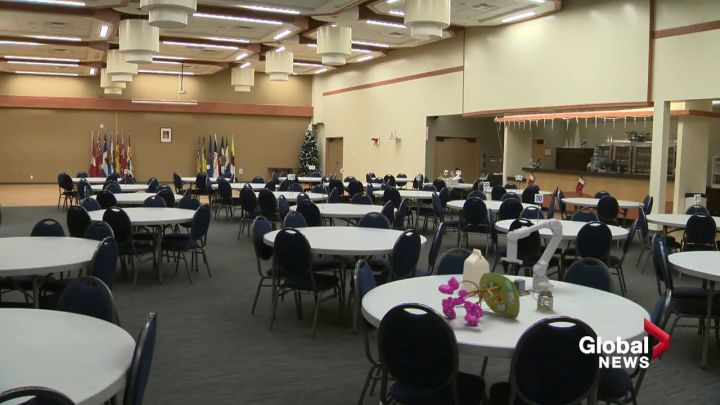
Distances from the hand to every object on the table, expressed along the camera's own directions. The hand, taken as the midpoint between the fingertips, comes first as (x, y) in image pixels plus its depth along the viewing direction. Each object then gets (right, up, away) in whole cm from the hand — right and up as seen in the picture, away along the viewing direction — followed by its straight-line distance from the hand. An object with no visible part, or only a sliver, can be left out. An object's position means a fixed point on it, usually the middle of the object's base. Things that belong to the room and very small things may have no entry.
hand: (511, 274), depth 383 cm
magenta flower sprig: (-33, -15, -69) cm, 78 cm away
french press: (+5, -14, -49) cm, 51 cm away
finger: (+3, -9, -8) cm, 13 cm away
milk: (-23, -10, -13) cm, 29 cm away
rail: (-1, -10, -11) cm, 15 cm away
